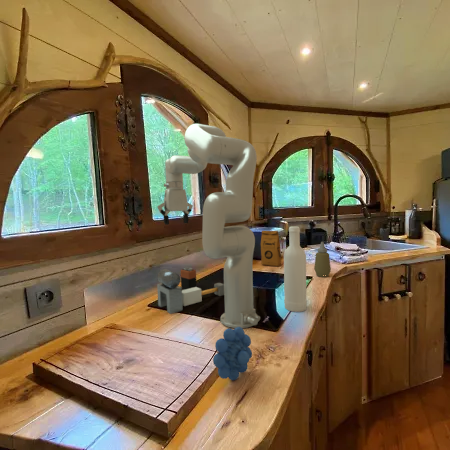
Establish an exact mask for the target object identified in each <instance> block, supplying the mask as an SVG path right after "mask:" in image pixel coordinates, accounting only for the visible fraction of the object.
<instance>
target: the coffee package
mask: <svg viewBox="0 0 450 450" xmlns="http://www.w3.org/2000/svg"><path fill="white" fill-rule="evenodd" d="M260 237H261V240H260V256H261V259H260V260H261V261H260V263H261V264H260V265H263V266H270V267H280V266H282V253H281V252H282V251H281V242H280V235H279V231H278V230H261V236H260Z"/></svg>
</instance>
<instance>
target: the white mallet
mask: <svg viewBox="0 0 450 450" xmlns="http://www.w3.org/2000/svg"><path fill="white" fill-rule="evenodd" d="M212 293H214V294H215V295H216V296H219V297H221V296H224V283H221V282H216V283H214V285H213V288H209V289H208V288H207V289H205V290H202V288H201V287H194V288H190V289H186V290H185V289H182V307H183V306H184V307H186V306H189V305H194V304H196V303H200V302H202V301H203V300H202V297H203V296H204V295H207V294H212Z"/></svg>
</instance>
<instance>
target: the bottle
mask: <svg viewBox="0 0 450 450" xmlns="http://www.w3.org/2000/svg"><path fill="white" fill-rule="evenodd" d="M300 229H301V228H300V226H297V225H296V226H289V228H288V232H289V233H288V234H289V235H288V236H289V237H288V240H289V244H288V245H289V246H287V248H286V249H284V253H283V274H284V276H283V282H284V283H283V284H284V285H283V286H284V287H283V289H284V292H283V293H284V300H283V302H284V303H283V304H284V308H285V309H286V310H287V311H288V312H289V311H290V312H294V313H300V312H305V311H306V310H307V304H308V303H307V302H308V300H307V254H306V251H305V249H303V247H301V245H300V244H301V243H300V242H301V239H300V238H301V237H300V234H301V230H300Z"/></svg>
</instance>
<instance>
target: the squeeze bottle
mask: <svg viewBox="0 0 450 450" xmlns="http://www.w3.org/2000/svg"><path fill="white" fill-rule="evenodd" d="M330 259H331V258H330V253H328V248H326V246H325V243H324V241H321V242H320V245H319V247H318V248H317V252H316V253H315V259H314V268H313V269H314V272H315V274H316V276H317V277H319V278H320V277H321V278H329V275H330V272H331V270H332V269H331V268H332V267H331V260H330ZM323 275H324V276H323ZM325 275H326V276H325Z"/></svg>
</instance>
